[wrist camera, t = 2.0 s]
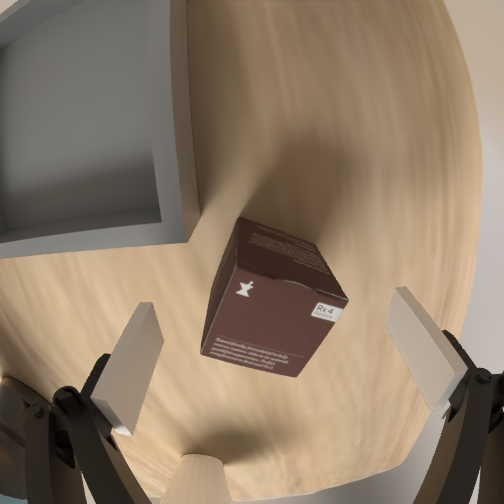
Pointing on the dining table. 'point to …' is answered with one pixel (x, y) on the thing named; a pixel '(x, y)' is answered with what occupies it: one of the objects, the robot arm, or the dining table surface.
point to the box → (270, 301)
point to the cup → (198, 482)
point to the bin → (95, 126)
